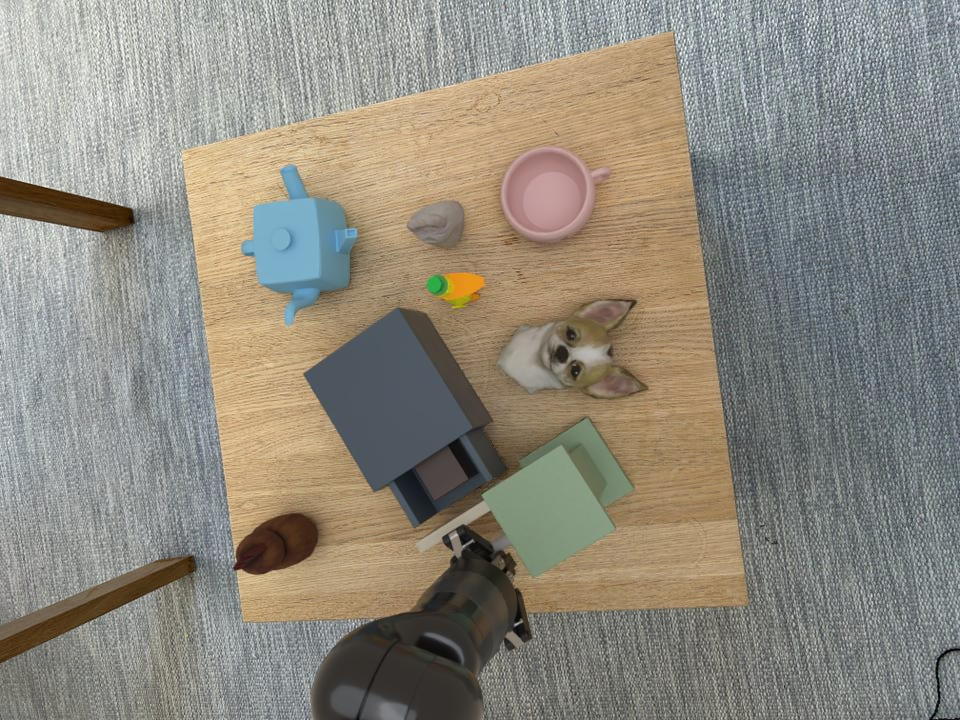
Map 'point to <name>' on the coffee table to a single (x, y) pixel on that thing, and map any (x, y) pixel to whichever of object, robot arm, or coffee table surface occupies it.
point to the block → (446, 470)
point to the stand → (559, 498)
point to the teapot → (300, 245)
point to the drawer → (424, 507)
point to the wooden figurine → (277, 544)
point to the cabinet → (396, 395)
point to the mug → (549, 193)
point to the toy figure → (456, 288)
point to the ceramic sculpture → (572, 353)
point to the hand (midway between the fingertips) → (505, 562)
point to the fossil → (439, 223)
